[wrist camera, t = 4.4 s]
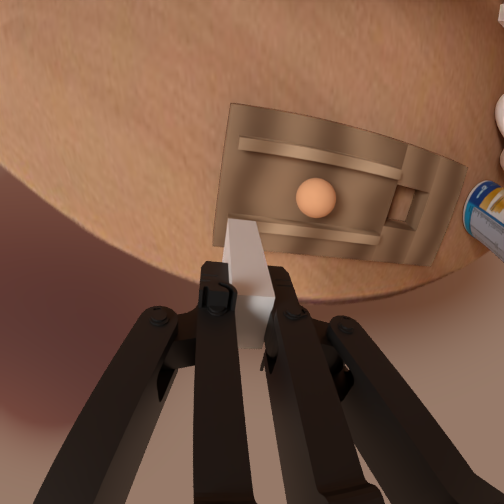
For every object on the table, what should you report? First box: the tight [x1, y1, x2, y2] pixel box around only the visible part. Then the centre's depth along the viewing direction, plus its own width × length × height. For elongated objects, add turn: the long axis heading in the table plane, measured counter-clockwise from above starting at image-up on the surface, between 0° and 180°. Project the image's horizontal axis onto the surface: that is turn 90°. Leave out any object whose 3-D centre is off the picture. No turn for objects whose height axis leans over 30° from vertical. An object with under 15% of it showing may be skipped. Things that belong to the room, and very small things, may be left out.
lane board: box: [213, 103, 468, 267], centre depth 28 cm, size 26×13×4 cm, turn 81°
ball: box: [296, 178, 336, 218], centre depth 25 cm, size 3×3×3 cm
